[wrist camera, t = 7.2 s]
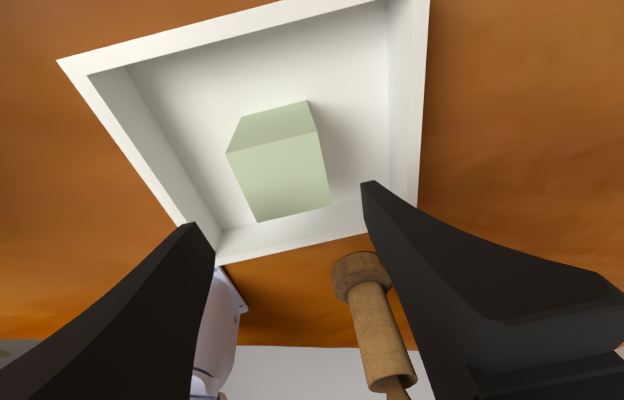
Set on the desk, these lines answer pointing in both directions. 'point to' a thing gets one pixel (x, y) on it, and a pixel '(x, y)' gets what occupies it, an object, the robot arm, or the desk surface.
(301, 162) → the green block
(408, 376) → the wooden pepper mill
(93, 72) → the white bin
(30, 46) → the desk surface
